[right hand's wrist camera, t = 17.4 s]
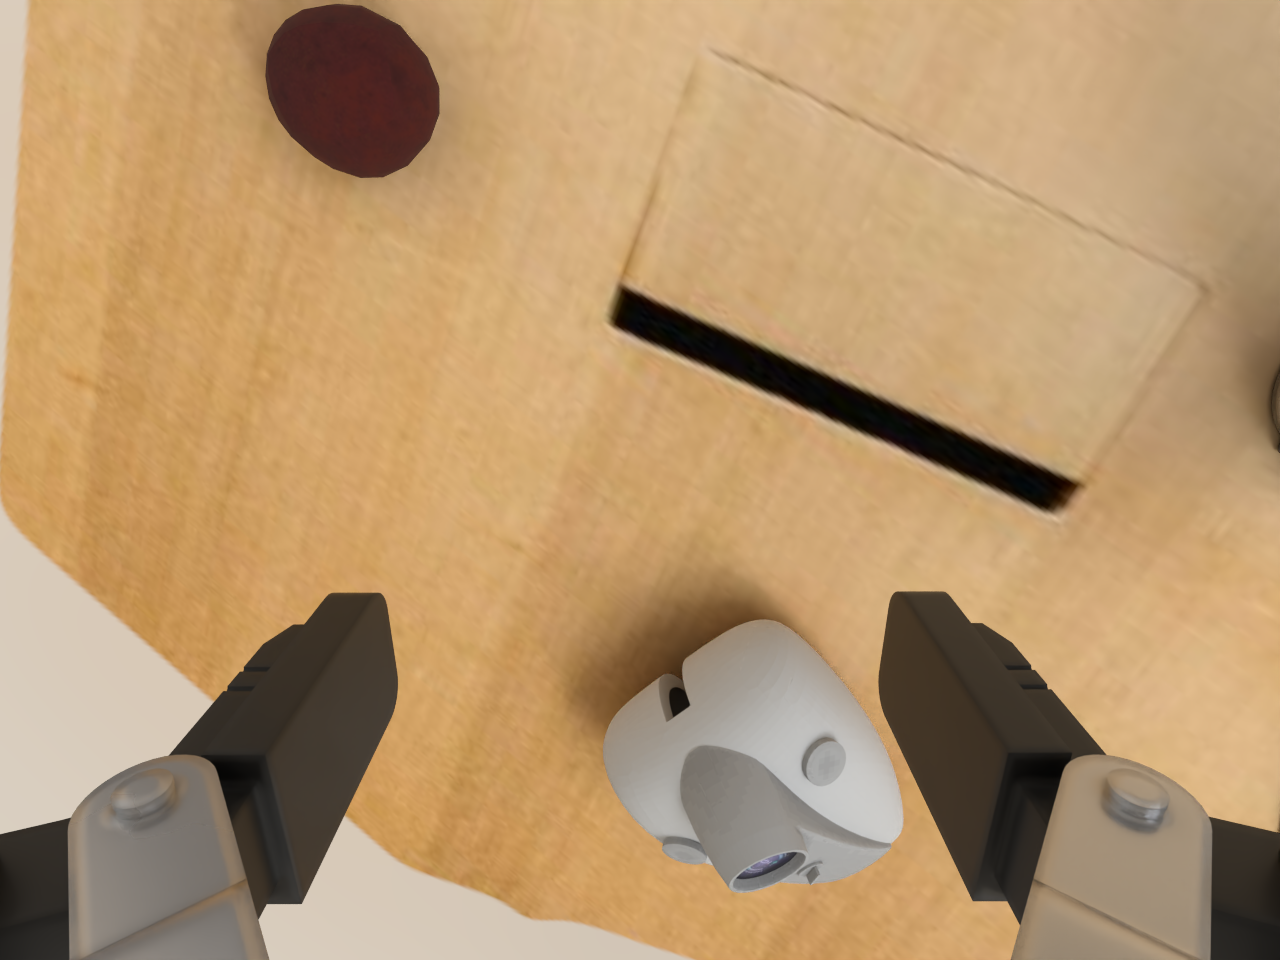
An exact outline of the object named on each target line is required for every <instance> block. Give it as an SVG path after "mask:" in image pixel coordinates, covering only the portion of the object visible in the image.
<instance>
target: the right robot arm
mask: <svg viewBox="0 0 1280 960" xmlns="http://www.w3.org/2000/svg"><path fill="white" fill-rule="evenodd" d="M1272 414H1273V419H1274V423H1275V425H1276V427H1277V429H1278V431H1279V433H1280V372H1279V374H1278V377H1277V380H1276V382H1275V386H1274V390H1273V395H1272ZM1278 452H1279V453H1280V445H1279V448H1278ZM397 691H398V676H397V669H396V662H395V655H394V649H393V642H392V635H391V629H390V622H389V615H388V609H387V604H386V600H385V598H384V596H383V595H382V594H381V593H331V594H329V595H328V596H327V597H326V598H325V599H324V600H323V602H322V603H321V604H320V605H319V607H318V608H317V609H316V610H315V612H314V613H313V614H312V616H311V617H310V618H309V619H308V621H307V622H306V623H305V624H304V625H292V626H291V627H289V628H287V629H286V630H284V631H283V632H281V633H280V634H278V635H277V636H275V637H274V638H272V639H271V640H269V641H267V642H266V643H264V644H263V645H262V646H261V648H260V649H259V650H258V651H257V652H256V653H255V655H254V656H253V657H252V658H251V659H250V661H249V662H248V663H247V664H246V665H245V666H244V671H243V672H239V673H238V675H237V676H236V677H235V678H234V679H233V681H232V682H231V683H230V684H229V685H228V689H227V691H223V692H222V693H221V695H220V696H219V697H218V698H217V699H216V701H215V702H214V703H213V704H212V705H211V707H210V708H209V709H208V710H207V711H206V712H205V713H204V715H203V716H202V717H201V718H200V719H199V721H198V722H197V723H196V724H195V725H194V727H193V728H192V729H191V730H190V731H189V732H188V734H187V735H186V736H185V737H184V738H183V739H182V741H181V742H180V743H179V744H178V745H177V746H176V748H175V749H174V750H173V751H172V752H171V754H170V755H169V756H164V757H160V758H156V759H152V760H149V761H146V762H143V763H140V764H138V765H135V766H133V767H131V768H128V769H126V770H124V771H123V772H120V773H119V774H117V775H115V776H113V777H112V778H110V779H109V780H107V781H105V782H104V783H103V784H101V785H100V786H99V787H97V788H96V789H95V790H94V791H92V792H91V793H90V794H89V795H88V796H87V797H86V798H85V799H84V800H83V801H82V802H81V804H80V805H79V806H78V807H77V809H76V810H75V812H74V813H73V815H72V817H71V818H68V819H64V820H60V821H56V822H52V823H47V824H43V825H39V826H34V827H30V828H26V829H22V830H17V831H13V832H8V833H4V834H0V960H269V957H268V953H267V950H266V946H265V943H264V939H263V935H262V932H261V928H260V925H259V921H258V919H259V918H260V916H261V914H262V912H263V910H264V908H265V906H266V904H302V902H303V900H304V898H305V896H306V894H307V892H308V890H309V888H310V886H311V883H312V881H313V879H314V877H315V875H316V873H317V871H318V869H319V867H320V865H321V863H322V861H323V859H324V857H325V854H326V852H327V850H328V848H329V846H330V844H331V842H332V840H333V838H334V836H335V834H336V832H337V830H338V827H339V825H340V823H341V821H342V819H343V817H344V815H345V813H346V811H347V809H348V807H349V805H350V803H351V800H352V798H353V796H354V794H355V792H356V790H357V788H358V786H359V784H360V782H361V780H362V778H363V775H364V773H365V771H366V769H367V767H368V765H369V763H370V761H371V759H372V757H373V755H374V753H375V751H376V748H377V746H378V744H379V742H380V740H381V738H382V736H383V734H384V732H385V730H386V728H387V726H388V724H389V721H390V719H391V717H392V715H393V712H394V709H395V705H396V699H397ZM879 695H880V701H881V706H882V709H883V713H884V715H885V717H886V719H887V722H888V724H889V726H890V728H891V730H892V732H893V734H894V736H895V738H896V740H897V743H898V745H899V747H900V749H901V751H902V753H903V755H904V757H905V759H906V762H907V764H908V766H909V768H910V770H911V772H912V774H913V776H914V778H915V780H916V783H917V785H918V787H919V789H920V791H921V793H922V795H923V797H924V799H925V801H926V804H927V806H928V808H929V810H930V812H931V814H932V816H933V818H934V820H935V823H936V825H937V827H938V829H939V831H940V833H941V835H942V837H943V839H944V841H945V844H946V846H947V848H948V850H949V852H950V854H951V856H952V858H953V860H954V863H955V865H956V867H957V869H958V871H959V873H960V875H961V877H962V879H963V881H964V884H965V886H966V888H967V890H968V892H969V894H970V896H971V898H972V900H973V901H1008V903H1009V905H1010V907H1011V909H1012V911H1013V913H1014V915H1015V916H1016V918H1017V920H1018V922H1019V924H1020V928H1019V932H1018V935H1017V939H1016V943H1015V946H1014V950H1013V953H1012V957H1011V960H1280V833H1277V832H1272V831H1268V830H1264V829H1259V828H1255V827H1251V826H1246V825H1242V824H1238V823H1233V822H1229V821H1225V820H1220V819H1216V818H1212V817H1208V815H1207V813H1206V812H1205V810H1204V809H1203V807H1202V806H1201V805H1200V803H1199V802H1198V801H1197V800H1196V799H1195V798H1194V797H1193V796H1192V795H1191V794H1190V793H1189V792H1188V791H1186V790H1185V789H1184V788H1183V787H1181V786H1180V785H1179V784H1177V783H1176V782H1175V781H1173V780H1171V779H1170V778H1168V777H1167V776H1165V775H1163V774H1161V773H1160V772H1158V771H1156V770H1154V769H1152V768H1149V767H1147V766H1145V765H1142V764H1140V763H1137V762H1134V761H1131V760H1128V759H1124V758H1120V757H1116V756H1109V755H1106V754H1105V753H1104V751H1103V750H1102V749H1101V748H1100V747H1099V745H1098V744H1097V743H1096V742H1095V741H1094V740H1093V738H1092V737H1091V736H1090V735H1089V734H1088V732H1087V731H1086V730H1085V729H1084V728H1083V726H1082V725H1081V724H1080V723H1079V722H1078V721H1077V719H1076V718H1075V717H1074V716H1073V715H1072V713H1071V712H1070V711H1069V710H1068V709H1067V707H1066V706H1065V705H1064V704H1063V703H1062V702H1061V700H1060V699H1059V698H1058V697H1057V696H1056V694H1055V693H1054V692H1053V691H1052V690H1051V689H1048V688H1047V684H1046V683H1045V681H1044V680H1043V679H1042V678H1041V677H1040V675H1039V674H1038V673H1037V672H1036V671H1035V670H1032V669H1031V665H1030V664H1029V662H1028V661H1027V660H1026V659H1025V658H1024V656H1023V655H1022V654H1021V653H1020V652H1019V650H1018V649H1017V648H1016V647H1015V646H1014V644H1013V643H1012V642H1010V641H1009V640H1007V639H1006V638H1004V637H1002V636H1001V635H999V634H998V633H996V632H995V631H993V630H992V629H990V628H989V627H987V626H986V625H984V624H983V623H971V622H970V621H969V620H968V619H967V617H966V616H965V615H964V613H963V612H962V611H961V610H960V608H959V607H958V606H957V605H956V603H955V602H954V601H953V599H952V598H951V597H950V596H949V595H948V594H947V593H946V592H895V593H894V594H893V595H892V597H891V600H890V603H889V609H888V615H887V622H886V629H885V636H884V642H883V649H882V656H881V663H880V670H879Z"/></svg>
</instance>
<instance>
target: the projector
mask: <svg viewBox="0 0 1280 960" xmlns="http://www.w3.org/2000/svg"><path fill="white" fill-rule="evenodd" d="M682 675H683V681H682V680H681V679H680V678H678V677H676V676H675V675H672V674H664V675H662V676H661V677H659V678H658V679H657V680H655V681H654V682H652V683H651V684H650V685H648V686H647V687H646V688H644V689H643V690H642V691H641V692H639V693H638V694H637V695H636V696H634V697H633V698H632V699H631V700H630V701H628V702H627V703H626V704H625V705H624V706H623V707H622V708H621V709H620V710H619V711H618V712H617V713H616V715H615V716H614V718H613V719H612V721H611V723H610V724H609V727H608V729H607V732H606V735H605V739H604V745H603V758H604V764H605V768H606V771H607V775H608V778H609V780H610V782H611V784H612V787H613V789H614V791H615V793H616V794H617V796H618V798H619V799H620V801H621V803H622V804H623V806H624V807H625V808H626V810H627V811H628V812H629V813H630V815H631V816H632V817H633V818H634V819H635V820H636V821H637V822H638V823H639V824H640V825H641V826H642V827H643V828H644V829H645V830H646V831H647V832H648V833H649V834H651V835H652V836H653V837H655V838H656V839H657V840H659V841H660V842H661V843H663V847H662V850H663V852H664V853H665V854H666V855H667V856H669V857H670V858H672V859H674V860H677V861H680V862H683V863H688V864H702V863H706V864H709V865H713V866H714V867H715V869H716V870H717V872H718V873H719V875H720V876H721V877H722V879H723V880H724V882H725V883H726V884H727V886H728V887H729V889H730V890H731V891H733V892H737V893H746V892H753V891H757V890H760V889H764V888H767V887H769V886H772V885H774V884H777V883H779V882H784V883H799V884H810V885H812V884H813V883H825V882H833V881H837V880H840V879H843V878H846V877H848V876H850V875H853V874H855V873H857V872H859V871H861V870H863V869H864V868H866V867H868V866H869V865H871V864H872V863H874V862H875V861H877V860H878V859H879V858H881V857H882V856H883V855H884V854H885V853H886V852H888V851H889V850H890V848H891V843H892V842H893V841H894V840H895V839H896V838H897V837H898V836H899V834H900V833H901V831H902V828H903V808H902V800H901V795H900V790H899V786H898V782H897V778H896V775H895V772H894V769H893V766H892V763H891V761H890V758H889V756H888V753H887V751H886V749H885V747H884V745H883V742H882V740H881V738H880V736H879V735H878V733H877V731H876V729H875V728H874V726H873V724H872V723H871V721H870V719H869V717H868V716H867V715H866V713H865V712H864V710H863V709H862V707H861V706H860V704H859V703H858V701H857V700H856V699H855V697H854V696H853V695H852V693H851V692H850V691H849V689H848V688H847V687H846V685H845V684H844V683H843V682H842V681H841V679H840V678H839V677H838V676H837V675H836V673H835V672H834V671H833V670H832V669H831V667H830V666H829V665H828V664H827V663H826V662H825V661H824V660H823V658H822V657H821V656H820V655H819V654H818V653H817V652H816V651H815V650H814V649H813V648H812V647H811V646H810V645H809V644H808V643H807V642H806V641H805V640H804V639H802V638H801V637H800V636H799V635H798V634H797V633H795V632H794V631H793V630H791V629H790V628H789V627H787V626H785V625H783V624H782V623H779V622H777V621H773V620H767V619H762V620H754V621H749V622H746V623H743V624H741V625H738V626H736V627H734V628H732V629H730V630H728V631H726V632H724V633H723V634H721V635H719V636H718V637H716V638H715V639H713V640H712V641H710V642H709V643H707V644H706V645H704V646H703V647H701V648H700V649H698V650H697V651H695V652H694V653H693V654H691V655H690V656H688V657H687V658H686V659H685V660H684V662H683V666H682Z"/></svg>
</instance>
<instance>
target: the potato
mask: <svg viewBox="0 0 1280 960" xmlns="http://www.w3.org/2000/svg"><path fill="white" fill-rule="evenodd" d="M265 76H266V82H267V88H268V94H269V99H270V102H271V104H272V106H273V108H274V111H275V113H276V115H277V117H278V120H279V121H280V122H281V124H282V125H283V126H284V128H285V129H286V130H287V132H288V133H289V134H290V136H291V137H292V138H293V139H295V140H296V141H297V142H298V143H299V144H300V145H301V146H303V147H304V148H305V149H306V150H307V151H308V152H309V153H311V154H312V155H313V156H314V157H315V158H317V159H318V160H320V161H322V162H323V163H325V164H327V165H328V166H330V167H331V168H333V169H336V170H339V171H342V172H345V173H348V174H351V175H354V176H357V177H360V178H372V177H384V176H387V175H389V174H391V173H393V172H395V171H397V170H399V169H401V168H403V167H406V166H408V165H409V163H410V162H411V161H412V160H413V159H414V158H415V157H416V155H417V154H418V153H419V152H420V151H421V150H422V149H423V147H424V146H425V145H426V144H427V143H428V142H429V140H430V138H431V136H432V133H433V130H434V127H435V124H436V122H437V119H438V116H439V86H438V83H437V80H436V78H435V75H434V73H433V70H432V68H431V65H430V63H429V60H428V58H427V56H426V55H425V54H424V53H423V52H422V51H421V49H420V48H419V47H418V46H417V45H416V44H415V43H414V41H413V40H412V39H411V38H410V37H409V36H408V35H407V33H406V32H405V31H404V30H403V28H402V27H401V26H400V25H398V24H396V23H394V22H392V21H390V20H388V19H386V18H384V17H382V16H380V15H378V14H377V13H375V12H373V11H371V10H369V9H367V8H365V7H363V6H357V5H343V4H334V5H326V6H321V7H315V8H310V9H304V10H302V11H300V12H298V13H297V14H295V15H293V16H292V17H290V18H288V19H287V20H285V22H284V23H283V24H282V25H281V27H280V28H279V29H278V31H277V32H276V33H275V34H274V36H273V39H272V42H271V44H270V47H269V50H268V53H267V61H266V75H265Z"/></svg>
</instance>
